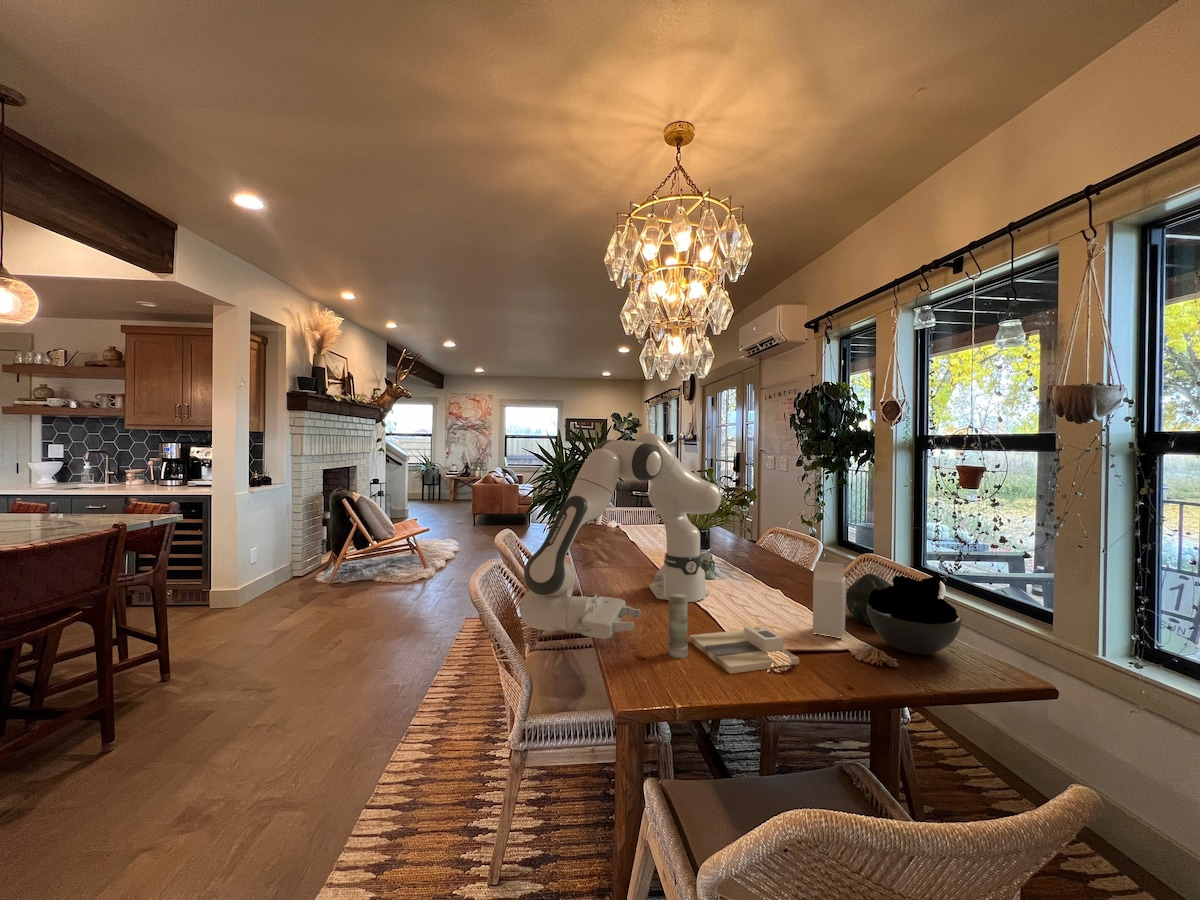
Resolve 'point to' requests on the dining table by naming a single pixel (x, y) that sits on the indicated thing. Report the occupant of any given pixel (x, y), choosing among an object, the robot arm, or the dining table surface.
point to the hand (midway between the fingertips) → (637, 619)
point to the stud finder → (763, 638)
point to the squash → (863, 595)
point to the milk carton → (829, 599)
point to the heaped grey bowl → (913, 615)
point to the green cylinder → (678, 626)
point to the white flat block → (734, 651)
